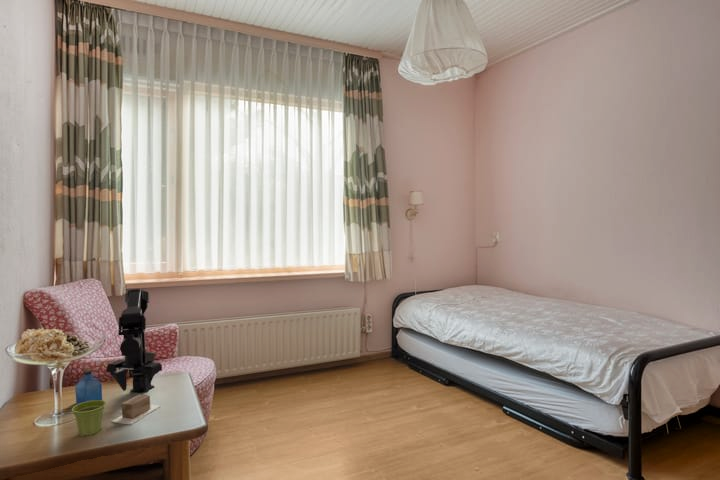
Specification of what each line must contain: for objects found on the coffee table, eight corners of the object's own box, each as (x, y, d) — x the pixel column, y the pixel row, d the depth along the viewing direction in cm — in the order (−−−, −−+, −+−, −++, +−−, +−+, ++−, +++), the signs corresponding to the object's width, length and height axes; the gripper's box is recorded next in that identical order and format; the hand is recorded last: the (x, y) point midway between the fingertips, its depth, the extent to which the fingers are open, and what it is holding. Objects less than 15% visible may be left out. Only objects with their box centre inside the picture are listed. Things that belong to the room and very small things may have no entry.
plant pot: (98, 422, 149) (97, 397, 149) (112, 429, 144) (111, 403, 143) (68, 433, 142) (66, 407, 141) (81, 441, 136) (79, 414, 136)
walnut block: (122, 417, 152) (121, 403, 151) (140, 407, 159) (139, 394, 159) (132, 419, 150) (131, 404, 150) (150, 409, 158) (149, 395, 158)
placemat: (141, 405, 163) (141, 404, 162) (160, 406, 161) (160, 405, 160) (111, 422, 149) (111, 421, 149) (131, 424, 147) (131, 423, 147)
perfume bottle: (76, 403, 166) (74, 372, 165) (92, 396, 172) (90, 366, 171) (85, 405, 163) (84, 374, 163) (102, 399, 169) (100, 369, 168)
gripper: (171, 342, 159) (173, 384, 160) (128, 340, 164) (130, 381, 164) (149, 351, 148) (151, 396, 149) (104, 349, 153) (106, 392, 154)
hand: (135, 391), depth 154 cm, fingers open, 9 cm apart
